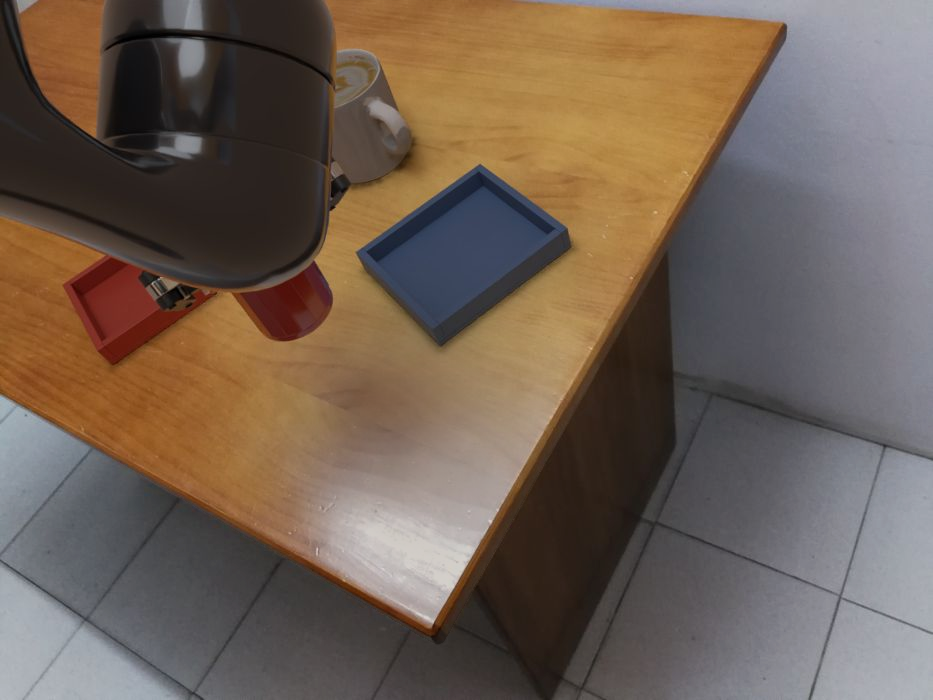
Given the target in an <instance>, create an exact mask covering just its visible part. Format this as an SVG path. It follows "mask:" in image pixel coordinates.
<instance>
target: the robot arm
mask: <svg viewBox="0 0 933 700" xmlns="http://www.w3.org/2000/svg"><path fill="white" fill-rule="evenodd" d="M100 22H101V23H100V40H99V56H100V57H99V61H98V62H99V63H98V64H99V65H98V67H99V68H98V83H97V84H98V85H97V104H96V124H95V125H96V126H95V137H94V136H93V135H92V134H90V133H88V132H87V131H86V130H84V129H82V128H81V127H80V126H78V125H77V124H76V123H75V122H74V121H72V120H71V119H70V118H69V117H68V116H67V115H66V114H64V113H63V112H62V111H61V110H60V109H59V108H58V107H57V106H56V104H54V103H53V102H52V101H51V100H50V98H49V97H48V96H47V94H45V91H44V90H43V88H42V87H41V85H40V83H39V80H38V78H37V75H36V73H35V70H34V68H33V66H32V63H31V59H30V55H29V51H28V48H27V44H26V41H25V36H24V31H23V26H22V21H21V14H20V11H19V5H18V1H17V0H0V217H1V218H4V219H8V220H11V221H14V222H16V223H20V224H23V225H26V226H28V227H32V228H35V229H37V230H41V231H43V232H46V233H47V234H51V235H53V236H56V237H59V238H62V239H64V240H67V241H70V242H72V243H75V244H78V245H80V246H82V247H85V248H87V249H89V250H91V251H94V252H97V253H100V254H102V255H104V256H109V257H111V258H114V259H116V260H119V261H121V262H123V263H126V264H128V265H131V266H133V267H136V268H138V269H141V270H143V271H142V272H141V273H142V274H141V275H140V276H139V277H138V280H139V281H140V282H141V284H142V285H143V286H144V287H145V289H146V290H147V292H148V293H149V294H150V295H151V297H152V298H153V299H154V301H155V302H156V303H157V304H158V306H159V307H160V308H161V310H162V311H163V312H169V311H180V310H183V309H185V308H186V309H188V308H190V307H191V306H193V303H194V302H195V301H196V300H197V299H196V298H195V297H194V296H193V294H194V293H196V292H198V291H200V290H202V292H203V293H204V294H205V295H207V294H209V293H211V294H212V293H214V292H215V291H216V292H217V293H227V294H228V293H230V294H232V293H241V292H251V291H259V290H264V289H268V288H271V287H274V286H277V285H279V284H281V283H283V282H285V281H287V280H289V279H291V278H293V277H295V276H296V275H298V274H299V273H300V272H302V271H303V270H304V269H306V268H307V267H308V266H309V265H310V264H311V263H312V262H313V261H314V260H316V258H317V257H318V256H319V255H320V253H321V251H322V249H323V247H324V245H325V243H326V238H327V234H328V229H329V225H330V212H332V211H334V210H335V209H336V208H337V206H338V204H339V203H340V202H341V200H342V199H343V197H344V196H345V195H346V193H347V192H348V190H349V189H350V187H351V186H352V185H353V184H352V183H351V182H350V180H349V179H348V178H347V176H346V175H345V173H344V172H343V171H342V169H341V168H340V166H339V165H338V164H337V162H336V161H335V159H334V158H333V157H332V145H333V126H334V107H335V92H334V91H335V87H336V62H337V51H338V46H337V45H338V44H337V33H336V28H335V23H334V19H333V17H332V14H331V11H330V9H329V7H328V5H327V3H326V1H325V0H104V1H103V6H102V13H101V21H100Z"/></svg>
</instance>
